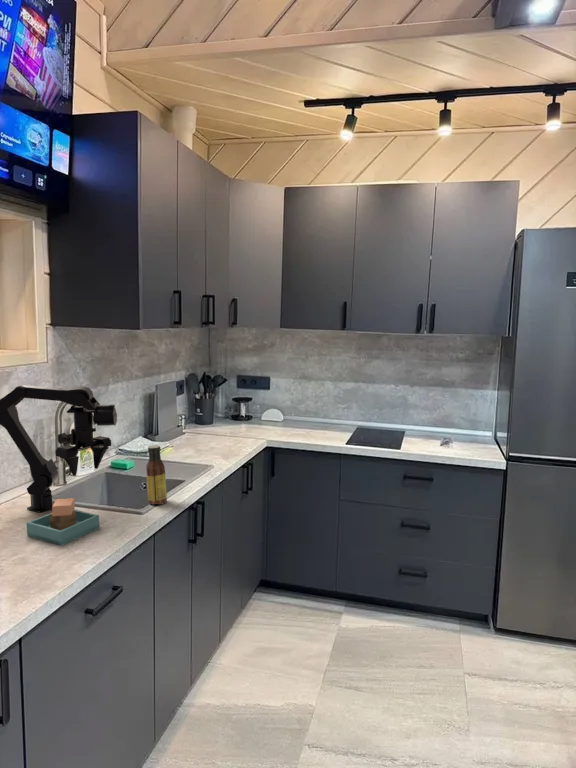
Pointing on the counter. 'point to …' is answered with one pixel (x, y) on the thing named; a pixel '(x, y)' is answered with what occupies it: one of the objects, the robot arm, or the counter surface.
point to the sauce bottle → (156, 477)
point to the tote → (60, 537)
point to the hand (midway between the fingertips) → (85, 471)
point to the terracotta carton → (63, 507)
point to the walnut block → (62, 521)
